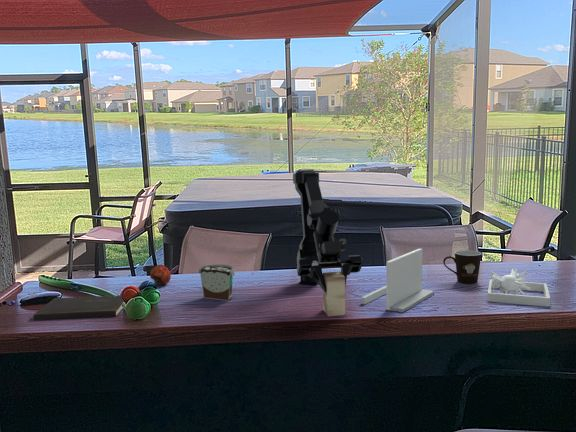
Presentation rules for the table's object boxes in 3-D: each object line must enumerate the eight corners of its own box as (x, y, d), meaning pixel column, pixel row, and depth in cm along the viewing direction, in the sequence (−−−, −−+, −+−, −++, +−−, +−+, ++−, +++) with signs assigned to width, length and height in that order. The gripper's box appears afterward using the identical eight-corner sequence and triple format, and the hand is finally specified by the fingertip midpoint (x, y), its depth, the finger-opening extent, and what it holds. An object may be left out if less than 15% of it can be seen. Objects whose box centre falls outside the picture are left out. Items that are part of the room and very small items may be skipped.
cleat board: (359, 304, 156) (359, 258, 154) (393, 287, 173) (393, 245, 172) (403, 312, 148) (403, 264, 146) (434, 294, 165) (434, 250, 163)
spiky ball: (491, 291, 170) (489, 266, 169) (532, 291, 165) (530, 264, 164) (489, 300, 160) (487, 273, 159) (532, 300, 155) (530, 272, 154)
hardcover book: (54, 305, 165) (54, 298, 165) (129, 302, 167) (128, 295, 166) (33, 322, 149) (33, 314, 149) (116, 318, 151) (115, 310, 150)
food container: (243, 296, 168) (241, 265, 167) (233, 301, 162) (231, 270, 161) (210, 292, 173) (209, 262, 172) (199, 297, 168) (198, 267, 166)
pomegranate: (162, 294, 180) (180, 273, 185) (148, 280, 177) (167, 258, 182) (152, 292, 186) (170, 271, 191) (138, 279, 182) (157, 258, 187)
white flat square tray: (487, 301, 156) (487, 293, 156) (489, 286, 171) (489, 279, 171) (549, 306, 150) (550, 298, 149) (546, 291, 165) (546, 283, 165)
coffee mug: (483, 280, 179) (484, 251, 178) (477, 286, 172) (478, 256, 171) (449, 276, 186) (449, 248, 184) (442, 282, 179) (442, 253, 177)
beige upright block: (323, 309, 152) (322, 272, 151) (339, 308, 153) (339, 271, 152) (328, 316, 146) (327, 277, 145) (345, 314, 147) (345, 276, 146)
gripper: (297, 230, 149) (305, 278, 140) (361, 227, 152) (373, 274, 143) (293, 252, 158) (301, 298, 148) (353, 249, 161) (364, 294, 151)
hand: (335, 291), depth 147 cm, fingers closed on beige upright block, 5 cm apart
